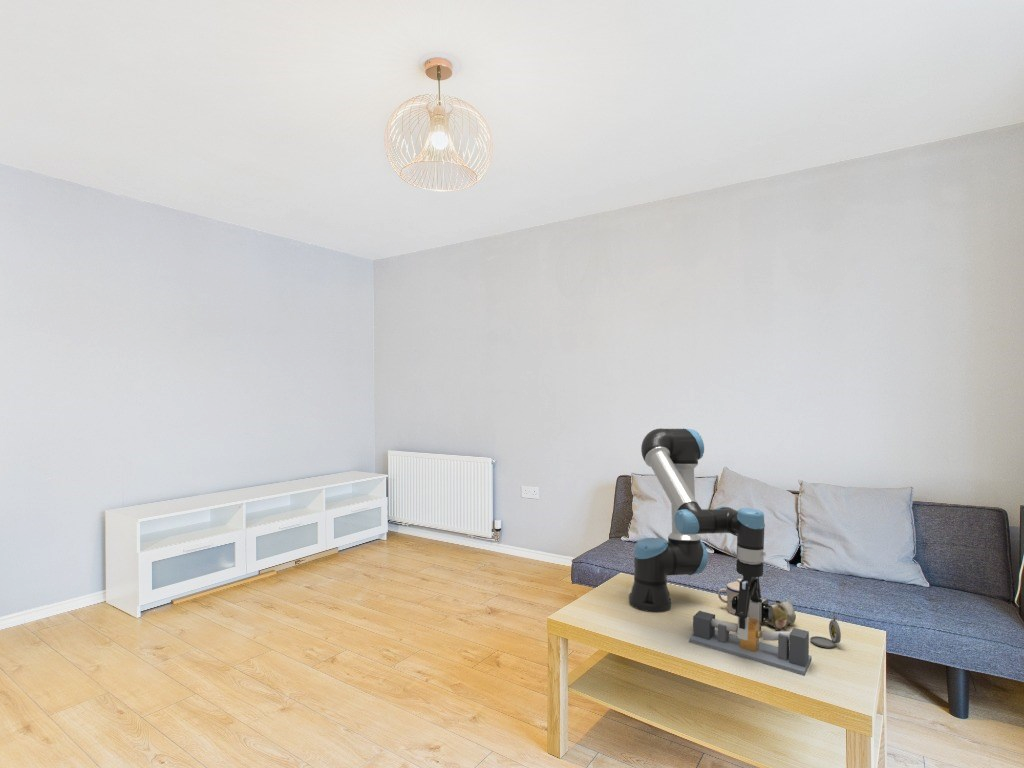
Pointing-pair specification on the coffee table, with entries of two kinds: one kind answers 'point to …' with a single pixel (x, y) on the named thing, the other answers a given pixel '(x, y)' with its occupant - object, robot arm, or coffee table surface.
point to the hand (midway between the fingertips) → (748, 630)
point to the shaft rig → (766, 653)
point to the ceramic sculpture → (782, 615)
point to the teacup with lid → (730, 594)
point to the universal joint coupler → (751, 636)
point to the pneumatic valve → (764, 610)
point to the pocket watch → (833, 630)
